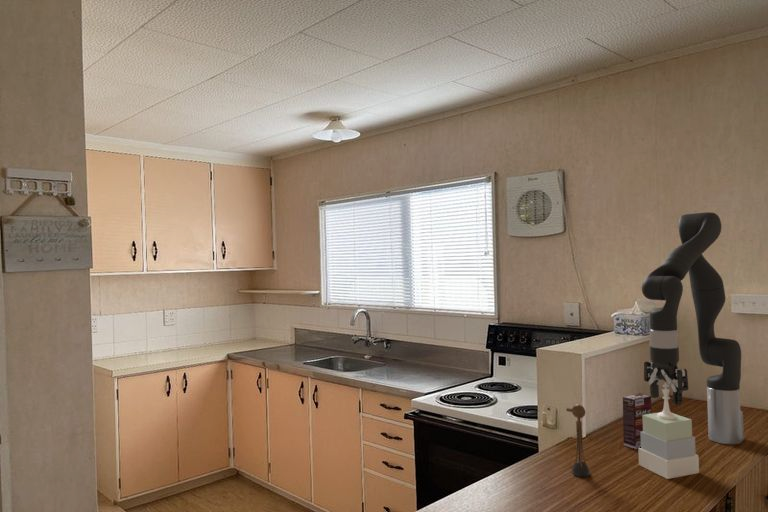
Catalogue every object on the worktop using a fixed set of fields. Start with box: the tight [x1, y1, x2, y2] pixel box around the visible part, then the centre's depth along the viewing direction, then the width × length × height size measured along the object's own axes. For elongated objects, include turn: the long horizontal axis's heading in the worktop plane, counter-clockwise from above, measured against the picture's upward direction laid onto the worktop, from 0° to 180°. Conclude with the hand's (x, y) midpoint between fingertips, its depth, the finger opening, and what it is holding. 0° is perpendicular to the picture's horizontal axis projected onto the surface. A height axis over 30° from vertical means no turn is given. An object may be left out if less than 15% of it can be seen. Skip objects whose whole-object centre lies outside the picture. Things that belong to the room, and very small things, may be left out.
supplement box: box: [622, 393, 653, 450], centre depth 184 cm, size 9×5×16 cm, turn 119°
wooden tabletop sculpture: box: [565, 404, 591, 478], centre depth 163 cm, size 6×5×20 cm
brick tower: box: [637, 411, 700, 480], centre depth 164 cm, size 11×11×15 cm
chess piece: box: [657, 382, 676, 420], centre depth 164 cm, size 5×5×10 cm
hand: (665, 400), depth 164 cm, fingers open, 8 cm apart
